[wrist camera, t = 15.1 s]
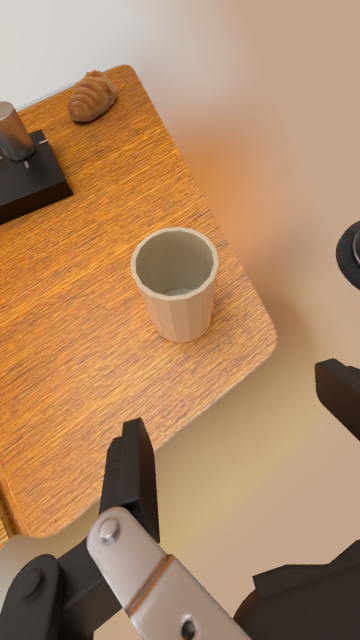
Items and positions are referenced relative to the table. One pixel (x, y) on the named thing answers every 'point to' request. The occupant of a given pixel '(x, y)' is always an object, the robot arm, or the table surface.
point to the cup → (177, 281)
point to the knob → (14, 134)
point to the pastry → (91, 97)
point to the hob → (31, 181)
